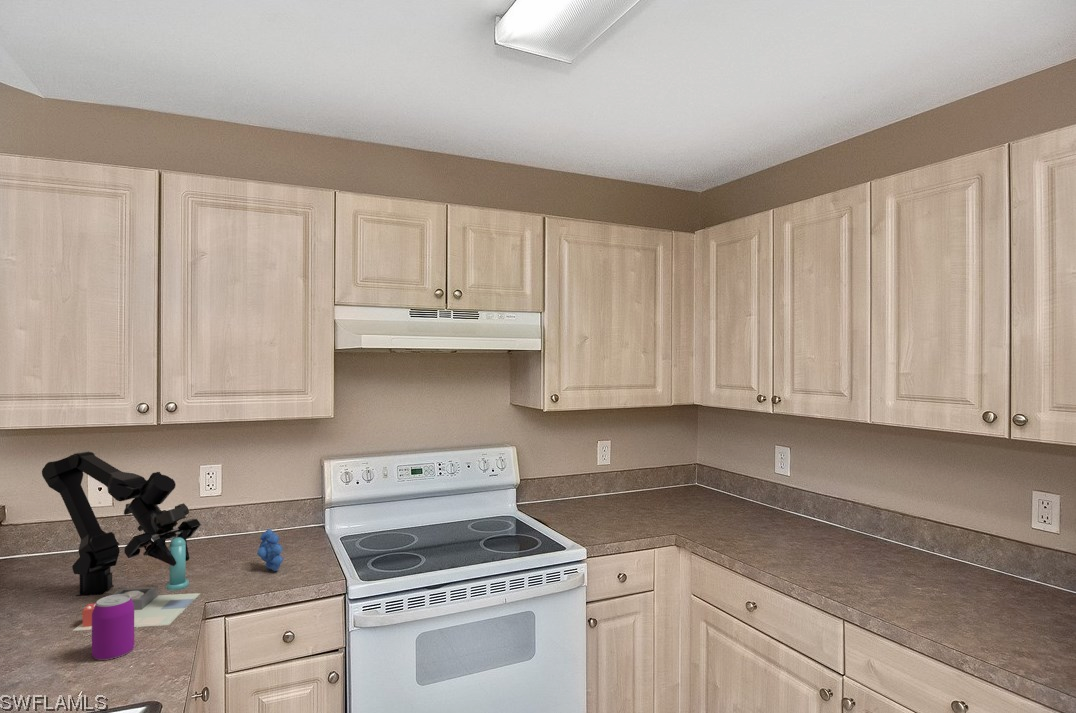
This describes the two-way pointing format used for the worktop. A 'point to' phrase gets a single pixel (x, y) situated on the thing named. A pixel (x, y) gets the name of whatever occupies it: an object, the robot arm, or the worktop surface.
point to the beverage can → (112, 627)
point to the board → (158, 610)
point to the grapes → (270, 550)
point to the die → (88, 615)
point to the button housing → (145, 599)
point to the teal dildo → (178, 565)
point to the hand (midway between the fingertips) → (181, 562)
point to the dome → (134, 594)
